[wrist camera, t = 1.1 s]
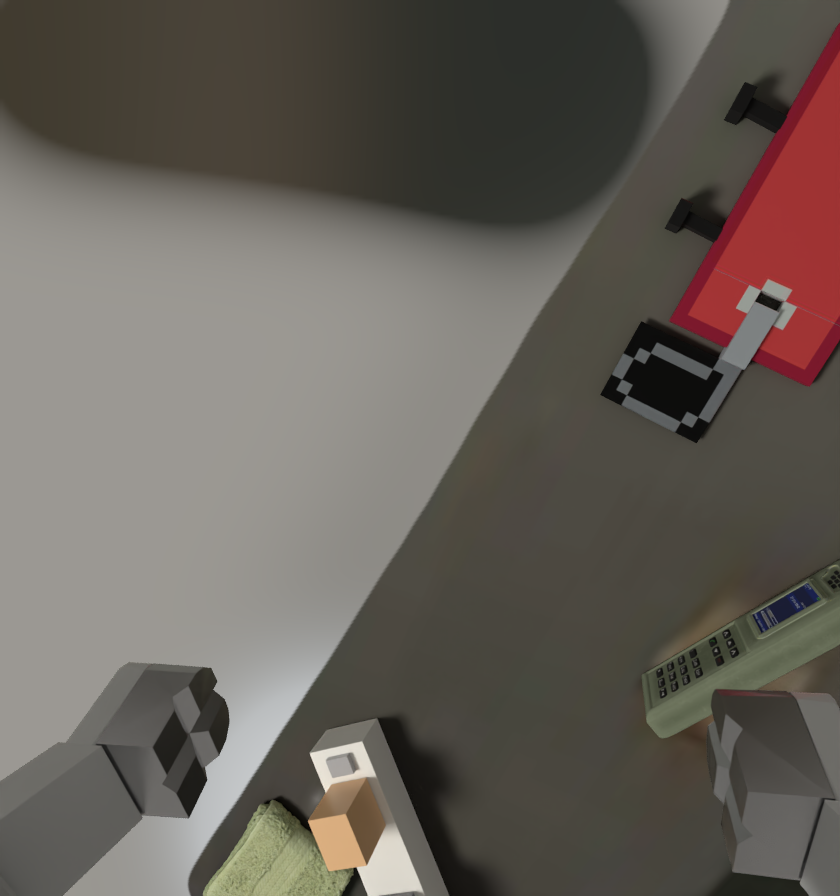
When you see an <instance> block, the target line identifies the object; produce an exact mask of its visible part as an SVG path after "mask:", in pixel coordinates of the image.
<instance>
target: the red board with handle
mask: <svg viewBox="0 0 840 896" xmlns="http://www.w3.org/2000/svg"><path fill="white" fill-rule="evenodd" d="M756 89H757V87H756V86H754V85H751V84H749V83H746V82H745V83H744V85H743V86H742V88H741V90H740V92H739V94H738V95H737V97H736V99H735V101H734V103H733V105H732V106H731V108H730V110H729V112H728V114H727V115H726V117H725V119H724V120H725V121H727V122H730V123H732V124H735V125H736V124H737V122H738V121H739V119H740V118H741V116H742V115H743V116H744V117H746V118H748V119H750V120H752V121H754V122H756V123H757V124H759V125H761V126H763V127H765V128H767V129H769V130H770V131H772V132H774V133H776V134H775V136H774V137H773V139H772V141H771V143H770V144H769V146H768V148H767V150H766V151H765V153H764V155H763V157H762V158H761V160H760V162H759V164H758V165H757V167H756V169H755V171H754V172H753V174H752V176H751V178H750V180H749V181H748V183H747V185H746V187H745V188H744V190H743V192H742V194H741V195H740V197H739V199H738V201H737V202H736V204H735V206H734V208H733V209H732V211H731V213H730V215H729V216H728V218H727V220H726V222H725V223H724V225H723V227H722V228H720V227H718V226H717V225H715V224H713V223H711V222H709V221H707V220H705V219H703V218H701V217H699V216H697V215H695V214H693V213H692V212H690V211H689V210H690V209H691V207H692V205H693V203H692V202H690V201H687V200H685V199H683V198H681V200H680V202H679V203H678V205H677V207H676V209H675V211H674V212H673V214H672V216H671V218H670V220H669V222H668V223H667V225H666V227H665V229H667V230H669V231H672V232H674V233H677V231H678V230H679V228H680V227H681V226H682V227H684V228H686V229H688V230H690V231H692V232H694V233H696V234H698V235H700V236H702V237H704V238H706V239H708V240H710V241H712V242H713V244H712V246H711V248H710V250H709V251H708V253H707V255H706V257H705V258H704V260H703V262H702V264H701V265H700V267H699V269H698V271H697V273H696V274H695V276H694V278H693V280H692V281H691V283H690V285H689V287H688V288H687V290H686V292H685V294H684V295H683V297H682V299H681V301H680V302H679V304H678V306H677V308H676V309H675V311H674V313H673V315H672V316H671V318H670V320H669V321H670V322H672V323H674V324H676V325H678V326H680V327H682V328H684V329H687V330H689V331H691V332H693V333H695V334H697V335H699V336H701V337H703V338H706V339H708V340H710V341H712V342H714V343H716V344H718V345H720V346H722V347H724V349H723V351H722V352H721V354H720V355H719V357H718V358H717V357H715V356H713V355H711V354H709V353H707V352H705V351H703V350H700V349H698V348H696V347H694V346H692V345H690V344H688V343H686V342H684V341H682V340H679V339H677V338H675V337H673V336H671V335H669V334H667V333H665V332H663V331H661V330H658V329H656V328H654V327H652V326H650V325H648V324H646V323H644V322H642V321H641V323H640V325H639V326H638V328H637V330H636V332H635V334H634V335H633V337H632V339H631V341H630V343H629V344H628V346H627V348H626V350H625V351H624V353H623V355H622V357H621V359H620V360H619V362H618V364H617V366H616V368H615V369H614V371H613V373H612V375H611V377H610V378H609V380H608V382H607V384H606V386H605V387H604V389H603V391H602V393H601V394H600V395H602V396H604V397H606V398H608V399H610V400H612V401H614V402H616V403H618V404H620V405H622V406H623V407H625V408H627V409H629V410H631V411H633V412H635V413H637V414H639V415H641V416H643V417H645V418H647V419H649V420H651V421H653V422H655V423H657V424H659V425H661V426H663V427H665V428H667V429H669V430H671V431H673V432H675V433H677V434H679V435H681V436H683V437H685V438H687V439H689V440H691V441H693V442H695V443H697V442H698V440H699V439H700V437H701V435H702V434H703V432H704V430H705V429H706V427H707V426H708V424H709V422H710V421H711V419H712V417H713V416H714V414H715V413H716V411H717V409H718V408H719V406H720V404H721V403H722V401H723V400H724V398H725V396H726V395H727V393H728V391H729V390H730V388H731V387H732V385H733V383H734V382H735V380H736V378H737V377H738V375H739V373H740V372H741V370H742V369H743V370H745V368H746V367H747V365H748V364H749V362H750V360H752V361H754V362H756V363H758V364H761V365H763V366H765V367H767V368H769V369H771V370H773V371H775V372H777V373H780V374H782V375H784V376H786V377H788V378H790V379H792V380H794V381H797V382H799V383H801V384H803V385H805V386H809V387H810V385H811V384H812V382H813V380H814V379H815V377H816V376H817V374H818V373H819V371H820V370H821V368H822V367H823V365H824V363H825V362H826V360H827V359H828V357H829V356H830V354H831V353H832V351H833V350H834V348H835V346H836V345H837V343H838V342H839V340H840V23H839V24H838V26H837V27H836V29H835V31H834V32H833V34H832V36H831V38H830V39H829V41H828V43H827V45H826V46H825V48H824V50H823V52H822V53H821V55H820V57H819V59H818V60H817V62H816V64H815V66H814V67H813V69H812V71H811V73H810V74H809V76H808V78H807V80H806V81H805V83H804V85H803V87H802V88H801V90H800V92H799V94H798V95H797V97H796V99H795V101H794V102H793V104H792V106H791V108H790V109H789V111H788V113H787V115H784V114H782V113H780V112H778V111H777V110H775V109H773V108H771V107H769V106H767V105H765V104H764V103H762V102H760V101H758V100H756V99H754V98H753V97H752V96H753V95H754V93H755V91H756ZM759 293H762V294H764V295H767V296H769V297H771V298H773V299H775V300H778V301H780V302H782V303H781V304H780V306H779V308H778V309H777V311H775V310H773V309H770V308H768V307H766V306H764V305H762V304H759V303H757V302H755V300H756V298H757V297H758V295H759Z"/></svg>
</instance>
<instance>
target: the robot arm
mask: <svg viewBox="0 0 840 896" xmlns="http://www.w3.org/2000/svg"><path fill="white" fill-rule="evenodd" d="M216 683H217V680H216V677H215V675H214V673H213V671H212V669H211V668H205V667H193V666H179V665H166V664H151V663H133V662H129V663H127V664H125V665H124V666H122V667H121V668H120V669H119V670H118V671H117V672H116V674H115V675H114V677H113V678H112V679H111V681H110V682H109V684H108V685H107V686H106V688H105V689H104V691H103V692H102V693H101V695H100V696H99V697H98V699H97V700H96V702H95V703H94V705H93V706H92V707H91V709H90V710H89V711H88V713H87V714H86V716H85V717H84V718H83V720H82V721H81V722H80V724H79V725H78V727H77V728H76V729H75V731H74V732H73V734H72V735H71V736H70V738H69V739H68V741H67V742H66V743H60V742H59V743H57V744H55V745H54V746H52V747H51V748H49V749H48V750H46V751H45V752H43V753H42V754H40V755H39V756H37V757H36V758H34V759H33V760H31V761H30V762H28V763H27V764H25V765H24V766H22V767H21V768H19V769H18V770H16V771H15V772H14V773H12V774H11V775H9V776H8V777H6V778H5V779H3V780H2V781H0V896H63V895H64V894H65V893H66V892H67V891H68V890H69V889H70V888H71V887H72V886H73V885H74V884H75V883H76V882H77V881H78V880H79V879H80V878H81V877H82V876H83V875H84V874H85V873H86V872H88V870H89V869H91V868H92V867H93V866H94V865H95V864H96V863H97V862H98V861H99V860H100V859H101V858H102V857H103V856H104V855H105V854H106V853H107V852H108V851H109V850H110V849H111V848H112V847H113V846H114V845H116V844H117V843H118V842H119V841H120V840H121V839H122V838H123V837H124V836H125V835H126V834H127V833H128V832H129V831H130V830H131V829H132V828H133V827H134V826H135V825H136V824H137V823H138V822H139V821H140V820H141V819H142V816H141V815H146V816H161V817H176V818H177V817H178V818H189V817H190V815H191V813H192V811H193V809H194V807H195V804H196V802H197V800H198V798H199V796H200V794H201V792H202V790H203V788H204V786H205V783H206V782H207V777H206V771H205V766H207V765H208V764H209V763H210V762H212V761H213V760H214V759H215V758H217V757H218V756H219V754H220V752H221V750H222V748H223V745H224V743H225V741H226V737H227V732H228V727H229V712H228V707H227V705H226V702H225V699H224V698H222V697H221V696H220V695H219V694H218V693H216V692H215V691H214V690H213V689H214V687H215V685H216ZM711 709H712V713H713V717H714V722H712V723H711V724H710V725H708V730H707V741H706V743H707V762H708V768H709V774H710V779H711V783H712V788H713V792H714V794H715V795H716V796H717V797H718V798H719V799H720V800H721V801H722V802H723V803H724V806H723V813H722V819H721V826H722V830H723V834H724V839H725V843H726V847H727V851H728V855H729V859H730V863H731V867H732V871H733V872H736V873H744V874H752V875H760V876H768V877H776V878H784V879H792V880H800V881H801V882H800V884H801V886H802V887H803V888H804V889H805V891H806V892H807V893H808V894H809V896H840V709H839V707H838V705H837V703H836V700H835V699H834V698H833V697H832V696H831V695H830V694H825V693H802V692H789V693H788V692H787V691H766V690H734V689H715V690H714V692H713V694H712V700H711Z"/></svg>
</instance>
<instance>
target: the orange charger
mask: <svg viewBox="0 0 840 896" xmlns="http://www.w3.org/2000/svg"><path fill="white" fill-rule="evenodd" d="M308 823H309V825H310V827H311V830H312V832H313V835H314V837H315V840H316V842H317V844H318V847H319V849H320V852H321V854H322V856H323V859H324V861H325V864H326V866H327V868H328V871H335V870H341V869H348V868H355V867H361V866H367V864H368V862H369V860H370V858H371V856H372V854H373V852H374V850H375V848H376V845H377V843H378V841H379V839H380V837H381V835H382V833H383V831H384V829H385V827H386V824H385V822H384V819H383V817H382V814H381V812H380V809H379V807H378V804H377V802H376V800H375V797H374V795H373V792H372V790H371V787H370V785H369V782H368V780H367V778H362V779H357V780H352V781H347V782H342V783H337V784H332V785H331V786H330V787H329V789H328V790H327V792H326V793H325V795H324V797H323V798H322V800H321V801H320V803H319V804H318V806H317V807H316V809H315V811H314V812H313V814H312V815H311V817H310V818H309V820H308Z"/></svg>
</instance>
